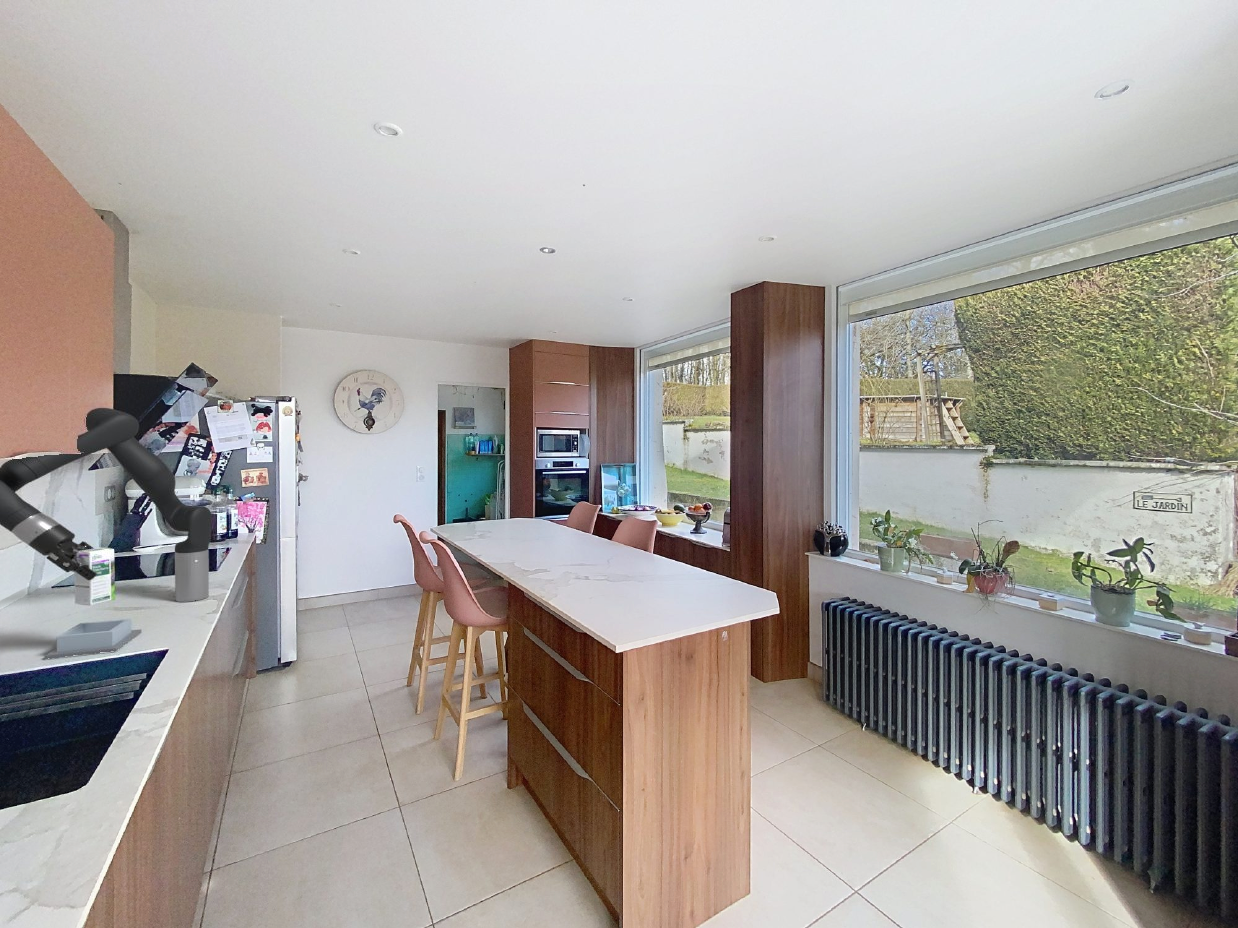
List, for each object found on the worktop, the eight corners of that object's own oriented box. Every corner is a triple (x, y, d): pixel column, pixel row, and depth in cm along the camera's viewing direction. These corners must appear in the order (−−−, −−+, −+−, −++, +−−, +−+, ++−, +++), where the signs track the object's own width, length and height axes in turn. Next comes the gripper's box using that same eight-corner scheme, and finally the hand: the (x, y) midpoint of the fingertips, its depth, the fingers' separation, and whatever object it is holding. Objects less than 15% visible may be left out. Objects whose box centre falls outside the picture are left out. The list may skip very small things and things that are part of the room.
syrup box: (90, 606, 137) (90, 552, 136) (73, 603, 138) (73, 550, 138) (115, 599, 142) (115, 548, 142) (98, 598, 144) (98, 546, 143)
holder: (77, 638, 145) (77, 621, 145) (141, 632, 150) (141, 615, 150) (44, 659, 131) (44, 640, 131) (116, 651, 137) (115, 633, 137)
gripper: (40, 527, 130) (101, 569, 135) (72, 519, 143) (126, 558, 148) (11, 549, 128) (74, 591, 133) (47, 539, 141) (102, 577, 146)
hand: (101, 573), depth 141 cm, fingers closed on syrup box, 7 cm apart
